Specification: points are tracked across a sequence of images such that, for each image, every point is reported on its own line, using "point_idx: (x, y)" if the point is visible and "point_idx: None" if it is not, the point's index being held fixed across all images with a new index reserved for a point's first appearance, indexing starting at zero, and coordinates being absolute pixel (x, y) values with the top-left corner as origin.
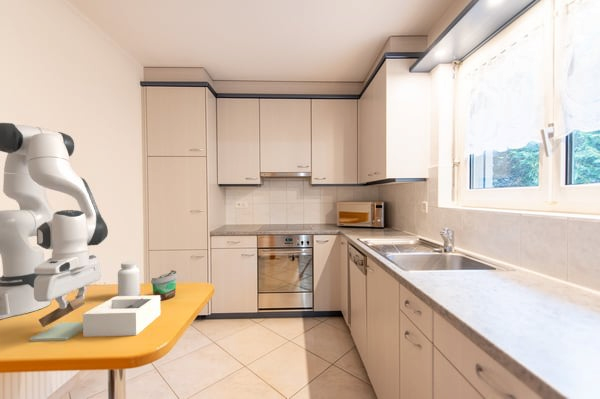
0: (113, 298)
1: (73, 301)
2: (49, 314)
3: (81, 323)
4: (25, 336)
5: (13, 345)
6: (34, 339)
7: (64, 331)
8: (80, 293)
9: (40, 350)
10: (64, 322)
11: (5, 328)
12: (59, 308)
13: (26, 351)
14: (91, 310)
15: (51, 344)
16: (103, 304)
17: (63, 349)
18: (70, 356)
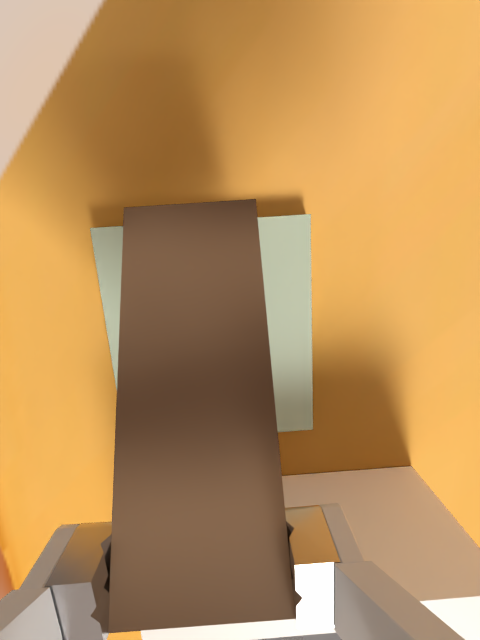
0: (460, 613)
1: (171, 615)
2: (122, 326)
3: (289, 380)
4: (149, 124)
5: (46, 172)
6: (97, 262)
7: None
8: (353, 618)
9: (32, 391)
10: (306, 249)
11: None
12: (120, 456)
13: (11, 327)
14: (205, 634)
15: (88, 392)
16: (325, 631)
17: (58, 491)
18: (18, 563)
